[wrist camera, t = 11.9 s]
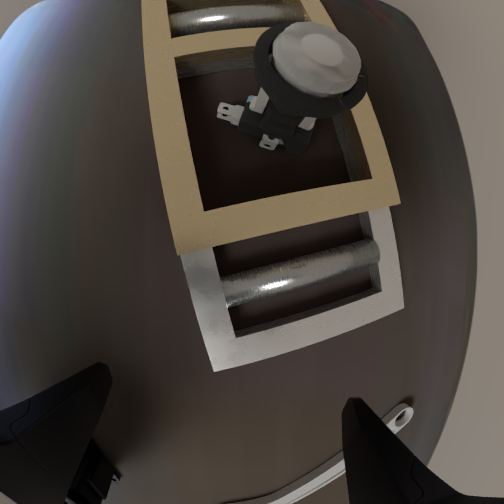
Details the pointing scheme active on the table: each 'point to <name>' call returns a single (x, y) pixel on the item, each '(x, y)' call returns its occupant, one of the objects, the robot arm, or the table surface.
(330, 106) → the push button
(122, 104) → the table surface
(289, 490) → the adjustable wrench
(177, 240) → the cream double window frame
